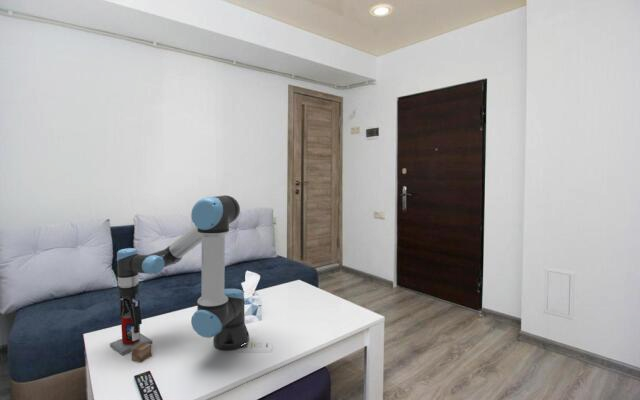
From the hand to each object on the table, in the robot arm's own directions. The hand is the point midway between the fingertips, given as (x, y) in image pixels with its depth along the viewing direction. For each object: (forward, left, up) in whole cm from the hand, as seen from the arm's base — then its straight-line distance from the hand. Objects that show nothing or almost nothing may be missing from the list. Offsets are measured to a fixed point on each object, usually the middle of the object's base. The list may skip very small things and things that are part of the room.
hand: (131, 336), depth 143 cm
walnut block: (-14, +2, -4) cm, 15 cm away
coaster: (0, 0, -4) cm, 4 cm away
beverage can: (0, 0, -2) cm, 2 cm away
